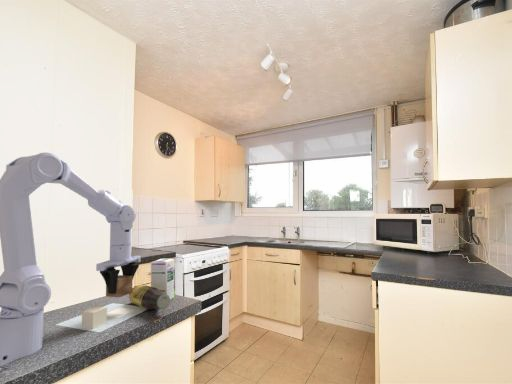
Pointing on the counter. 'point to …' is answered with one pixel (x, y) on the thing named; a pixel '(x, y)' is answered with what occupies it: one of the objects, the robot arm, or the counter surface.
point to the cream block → (94, 317)
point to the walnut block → (122, 286)
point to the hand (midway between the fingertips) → (119, 290)
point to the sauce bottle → (149, 297)
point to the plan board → (114, 316)
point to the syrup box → (164, 276)
